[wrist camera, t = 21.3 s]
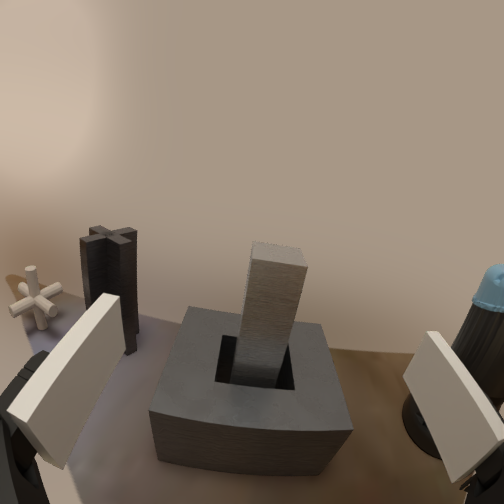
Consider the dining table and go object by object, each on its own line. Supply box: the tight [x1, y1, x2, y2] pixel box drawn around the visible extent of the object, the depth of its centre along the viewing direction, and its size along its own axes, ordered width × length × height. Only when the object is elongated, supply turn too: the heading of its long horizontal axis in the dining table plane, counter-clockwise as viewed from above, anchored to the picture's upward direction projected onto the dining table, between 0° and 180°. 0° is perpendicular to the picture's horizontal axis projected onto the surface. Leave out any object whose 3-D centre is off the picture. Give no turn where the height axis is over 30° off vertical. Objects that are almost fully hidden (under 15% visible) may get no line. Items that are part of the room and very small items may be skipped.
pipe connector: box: [8, 266, 63, 330], centre depth 32 cm, size 10×10×10 cm
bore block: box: [149, 306, 354, 476], centre depth 27 cm, size 16×16×9 cm
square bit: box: [230, 241, 308, 389], centre depth 25 cm, size 4×4×20 cm
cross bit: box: [80, 226, 139, 356], centre depth 34 cm, size 8×8×16 cm
